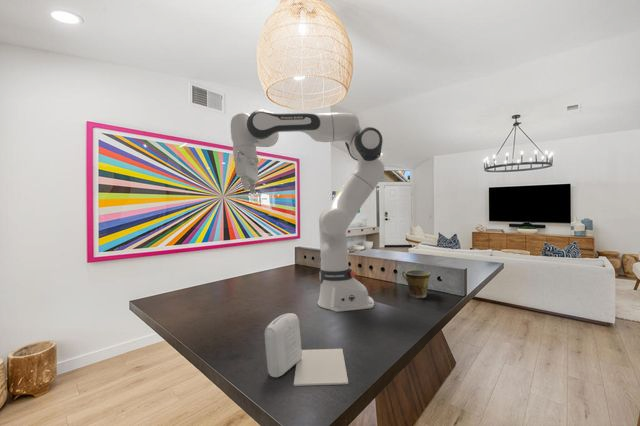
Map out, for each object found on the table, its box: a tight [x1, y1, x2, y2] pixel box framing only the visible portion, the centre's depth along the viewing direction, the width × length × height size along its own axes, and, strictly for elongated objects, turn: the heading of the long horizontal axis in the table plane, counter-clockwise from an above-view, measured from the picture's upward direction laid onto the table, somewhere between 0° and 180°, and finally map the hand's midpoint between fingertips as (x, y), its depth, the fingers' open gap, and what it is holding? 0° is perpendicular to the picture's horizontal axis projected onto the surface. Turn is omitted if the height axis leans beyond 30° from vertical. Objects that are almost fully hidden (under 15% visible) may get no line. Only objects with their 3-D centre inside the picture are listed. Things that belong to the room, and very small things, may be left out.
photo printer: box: [264, 312, 303, 378], centre depth 70 cm, size 10×4×12 cm, turn 150°
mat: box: [293, 348, 349, 387], centre depth 70 cm, size 12×15×1 cm
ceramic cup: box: [401, 269, 431, 299], centre depth 123 cm, size 13×10×10 cm
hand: (249, 191), depth 110 cm, fingers open, 8 cm apart
